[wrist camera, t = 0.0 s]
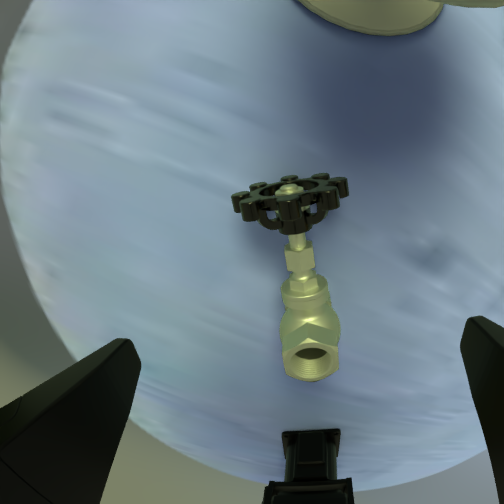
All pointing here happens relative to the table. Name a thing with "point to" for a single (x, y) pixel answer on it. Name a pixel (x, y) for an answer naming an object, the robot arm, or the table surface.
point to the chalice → (387, 13)
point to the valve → (300, 268)
